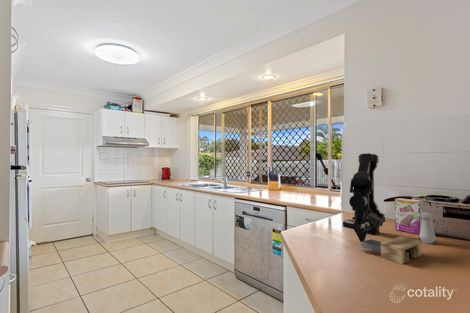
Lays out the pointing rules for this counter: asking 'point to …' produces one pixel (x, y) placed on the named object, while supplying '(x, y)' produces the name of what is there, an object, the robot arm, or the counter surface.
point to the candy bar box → (408, 215)
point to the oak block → (400, 249)
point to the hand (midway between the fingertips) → (362, 242)
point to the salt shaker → (427, 229)
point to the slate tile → (372, 245)
